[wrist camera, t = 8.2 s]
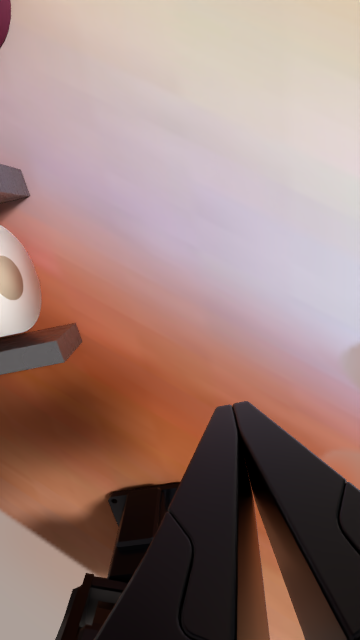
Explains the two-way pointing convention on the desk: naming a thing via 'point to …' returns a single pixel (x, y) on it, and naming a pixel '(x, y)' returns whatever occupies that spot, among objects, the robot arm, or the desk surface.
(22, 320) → the roll
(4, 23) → the cup
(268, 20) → the desk surface
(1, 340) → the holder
